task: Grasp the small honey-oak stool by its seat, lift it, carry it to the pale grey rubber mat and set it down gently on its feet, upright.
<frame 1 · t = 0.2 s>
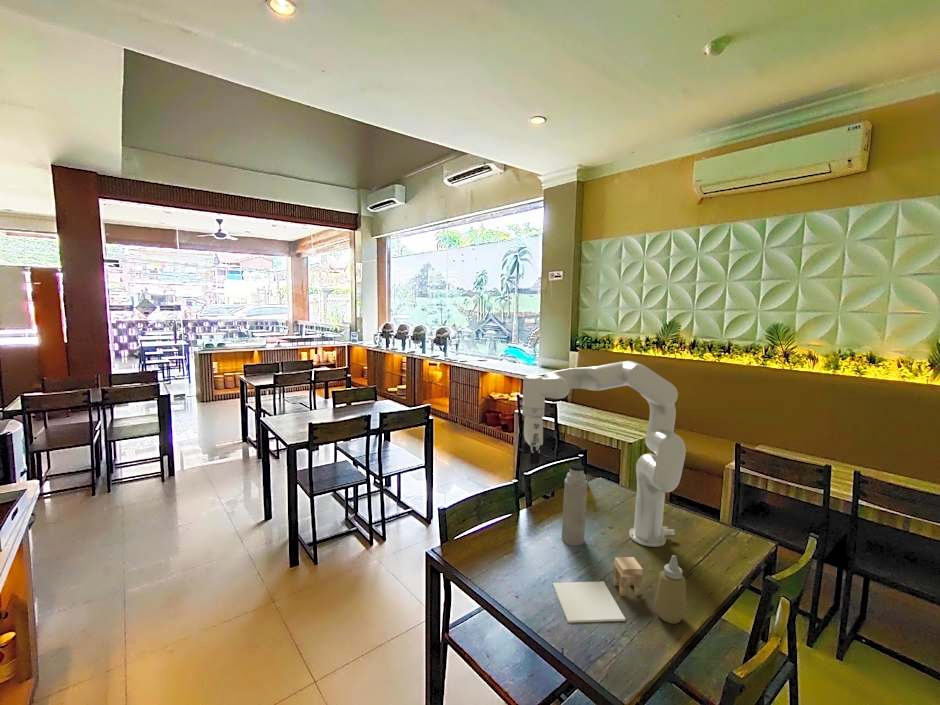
hand: (531, 458, 157), 31 cm above the table, tool pointing down, fingers open, 9 cm apart
stool: (626, 589, 135), on the table
squeeze bottle: (669, 617, 124), on the table
mat: (586, 601, 129), on the table
thermos bottle: (572, 540, 162), on the table
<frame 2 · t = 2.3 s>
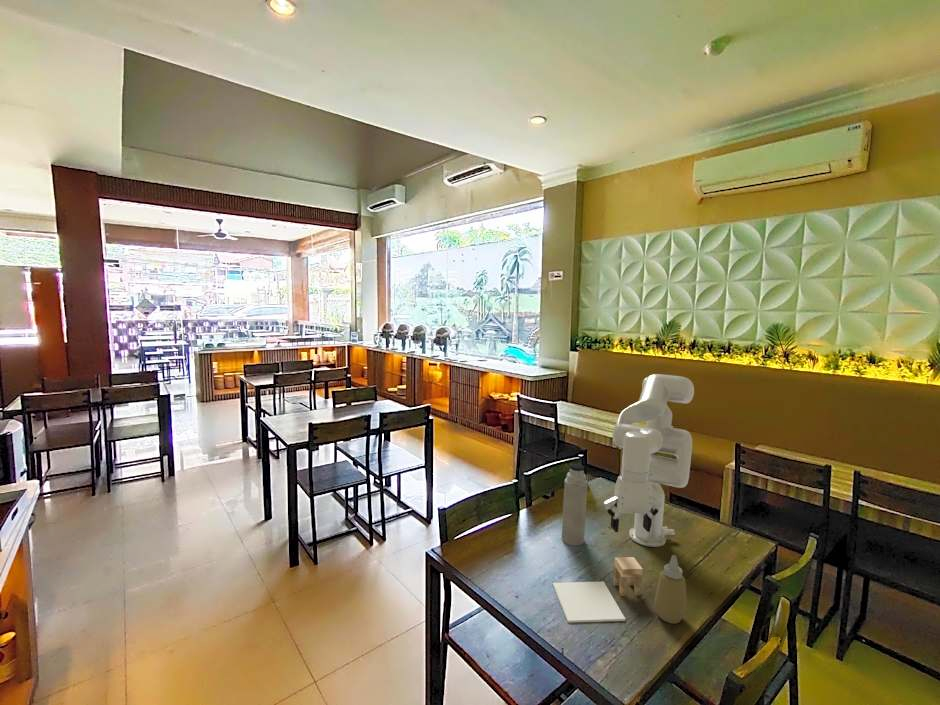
hand: (630, 529, 132), 19 cm above the table, tool pointing down, fingers open, 9 cm apart
nothing on the table moved.
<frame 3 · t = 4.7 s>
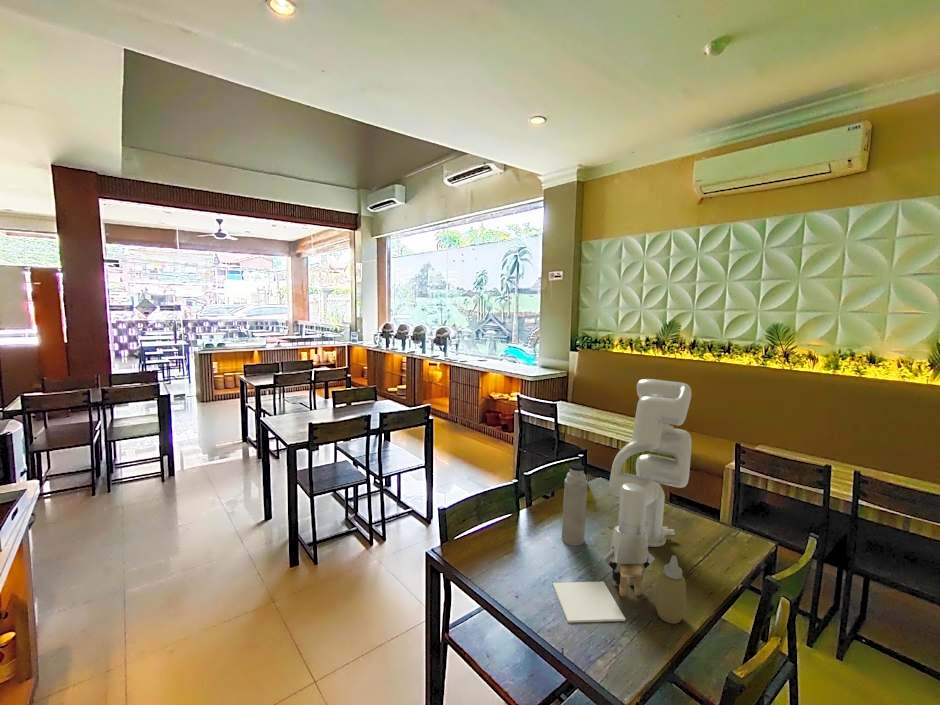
hand: (627, 581, 135), 3 cm above the table, tool pointing down, fingers closed on stool, 6 cm apart
stool: (626, 589, 135), on the table, touching gripper
everything else where it was.
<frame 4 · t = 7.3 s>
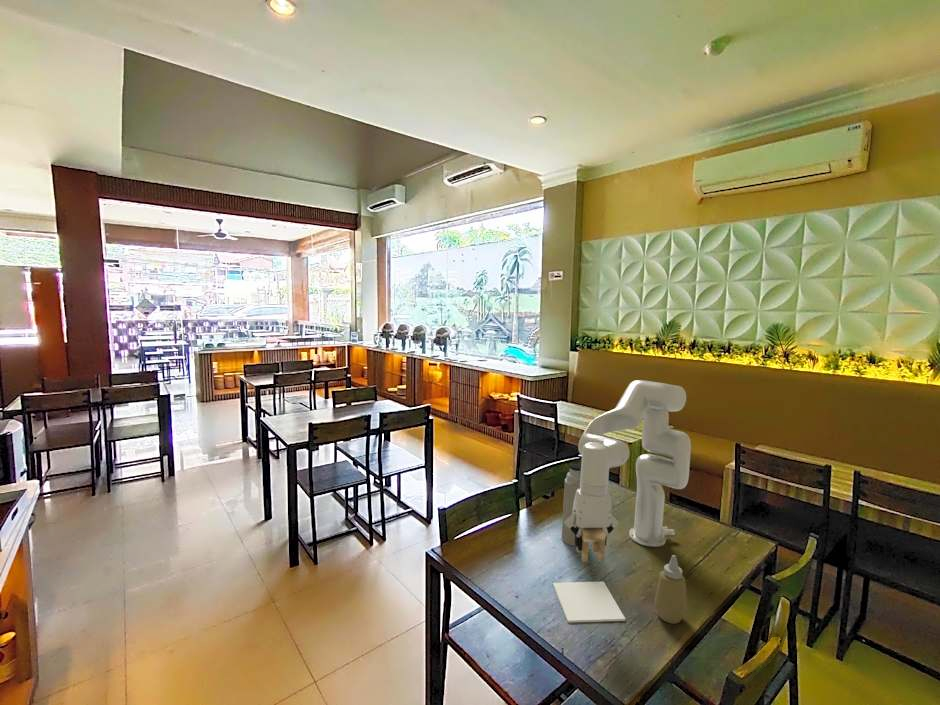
hand: (590, 547, 127), 17 cm above the table, tool pointing down, fingers closed on stool, 6 cm apart
stool: (589, 555, 127), point 14 cm above the table, touching gripper
everything else where it was.
when the fingers open (4 cm above the table, at t = 10.3 s): stool drops 1 cm, resting on mat.
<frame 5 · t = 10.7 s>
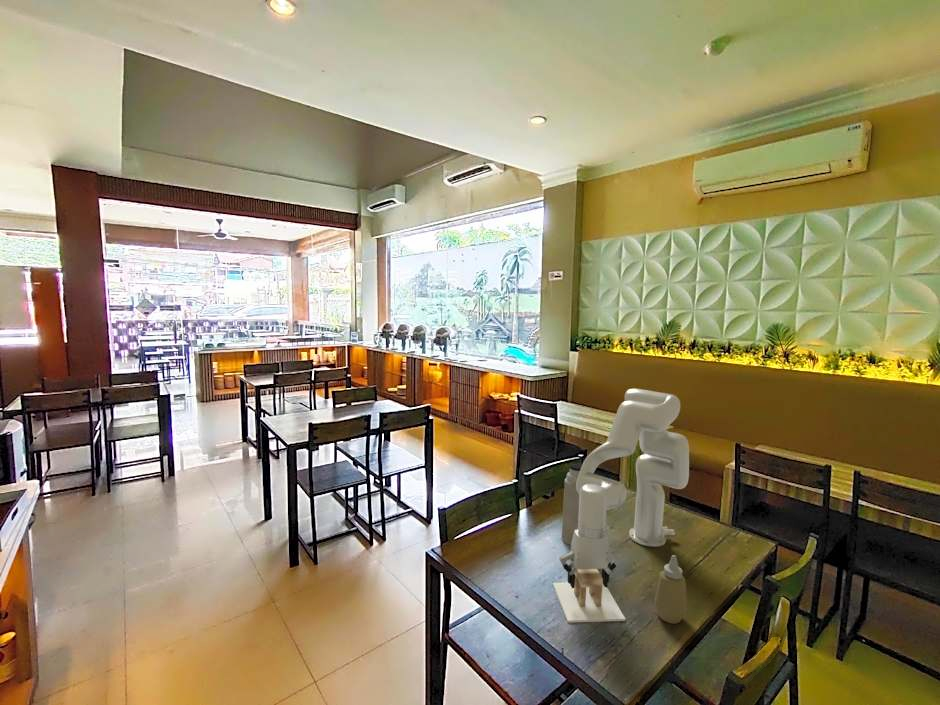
hand: (587, 584, 128), 5 cm above the table, tool pointing down, fingers open, 9 cm apart
stool: (587, 599, 129), point 1 cm above the table, touching mat
everything else where it was.
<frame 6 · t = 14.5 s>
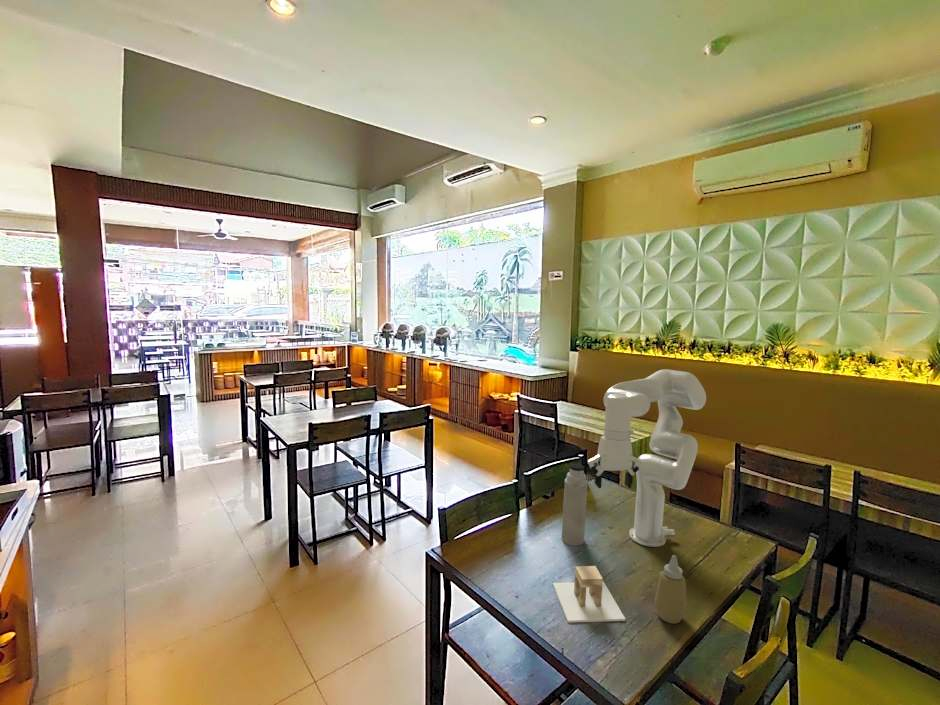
hand: (613, 486, 141), 28 cm above the table, tool pointing down, fingers open, 9 cm apart
nothing on the table moved.
at the end: stool inside the target area on the mat (0.1 cm from its centre), point 0.6 cm above the mat's base; stool tilted 0°; the gripper is holding nothing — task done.
